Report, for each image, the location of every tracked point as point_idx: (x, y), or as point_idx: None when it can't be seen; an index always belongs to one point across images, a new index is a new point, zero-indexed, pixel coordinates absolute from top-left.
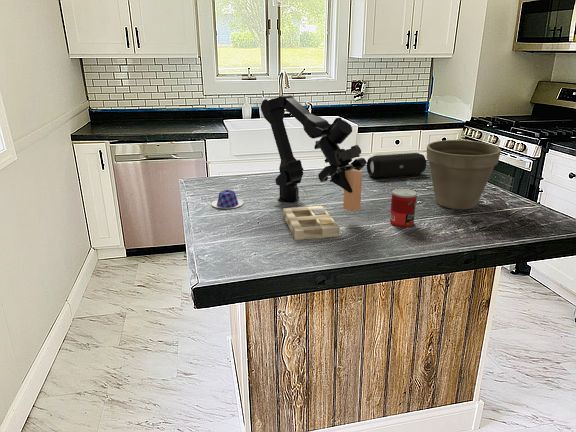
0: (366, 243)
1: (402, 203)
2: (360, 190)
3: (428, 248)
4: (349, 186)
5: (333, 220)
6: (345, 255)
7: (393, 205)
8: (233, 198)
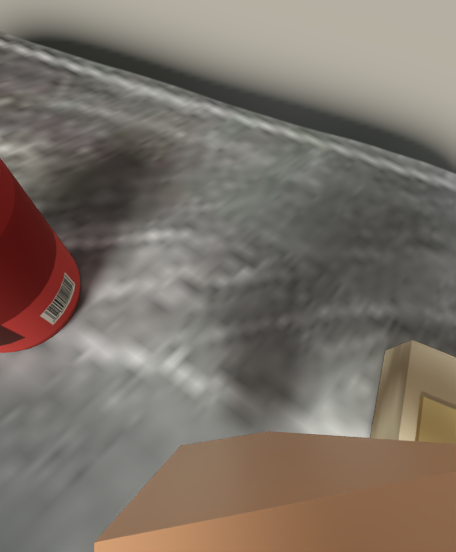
0: (320, 238)
1: (19, 185)
2: (185, 455)
3: (171, 115)
4: None
5: None
6: (436, 216)
7: (32, 259)
8: None
